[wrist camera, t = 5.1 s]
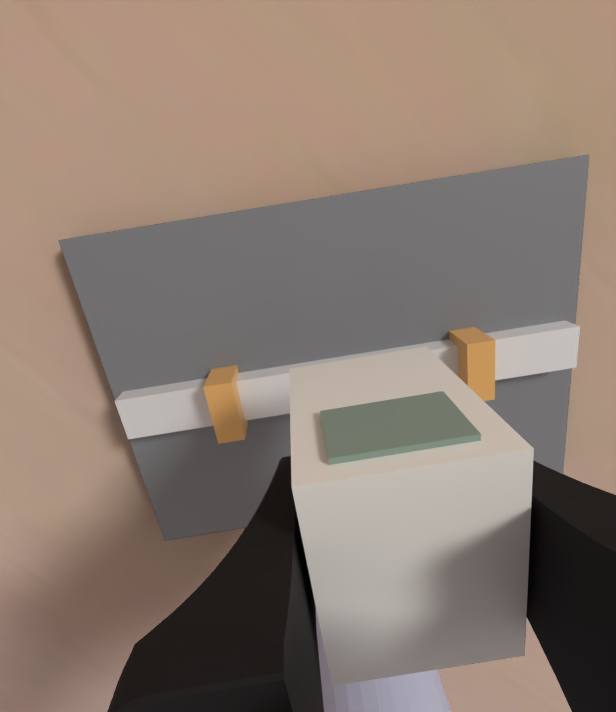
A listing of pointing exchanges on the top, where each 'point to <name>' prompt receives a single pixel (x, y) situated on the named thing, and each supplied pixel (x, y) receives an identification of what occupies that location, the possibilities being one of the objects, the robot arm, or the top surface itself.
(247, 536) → the robot arm
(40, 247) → the top surface
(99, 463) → the top surface
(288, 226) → the mounting board
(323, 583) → the block
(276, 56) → the top surface
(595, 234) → the top surface
